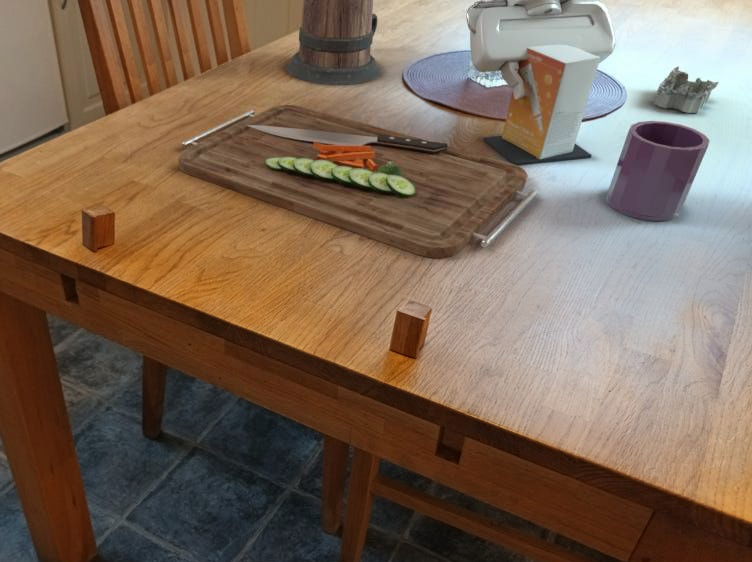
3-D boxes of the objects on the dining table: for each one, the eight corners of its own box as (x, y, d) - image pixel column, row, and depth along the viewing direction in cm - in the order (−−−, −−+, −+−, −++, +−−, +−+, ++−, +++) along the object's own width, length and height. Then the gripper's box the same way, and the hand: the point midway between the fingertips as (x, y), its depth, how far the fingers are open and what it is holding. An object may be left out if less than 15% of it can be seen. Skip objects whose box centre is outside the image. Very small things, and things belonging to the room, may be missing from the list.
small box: (500, 139, 104) (521, 44, 96) (533, 132, 106) (557, 39, 98) (539, 160, 98) (565, 62, 90) (573, 152, 101) (602, 56, 92)
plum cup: (649, 186, 94) (675, 118, 88) (695, 217, 87) (726, 146, 82) (592, 192, 92) (614, 124, 86) (634, 224, 86) (661, 152, 80)
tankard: (354, 91, 120) (367, -45, 107) (268, 72, 126) (270, -57, 114) (409, 56, 135) (426, -66, 123) (330, 41, 142) (338, -76, 129)
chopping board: (154, 162, 97) (152, 140, 95) (270, 106, 114) (270, 86, 112) (466, 271, 77) (471, 246, 75) (549, 183, 94) (556, 161, 92)
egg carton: (667, 89, 124) (676, 64, 121) (714, 100, 120) (724, 74, 117) (647, 105, 117) (656, 79, 115) (695, 117, 113) (706, 90, 111)
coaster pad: (555, 133, 107) (556, 130, 107) (591, 157, 101) (591, 154, 100) (483, 139, 105) (483, 137, 105) (514, 165, 98) (515, 162, 98)
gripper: (475, -13, 93) (495, 89, 92) (611, -19, 97) (632, 79, 96) (453, 15, 99) (472, 111, 98) (583, 9, 103) (602, 100, 102)
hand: (552, 95), depth 97 cm, fingers open, 8 cm apart
